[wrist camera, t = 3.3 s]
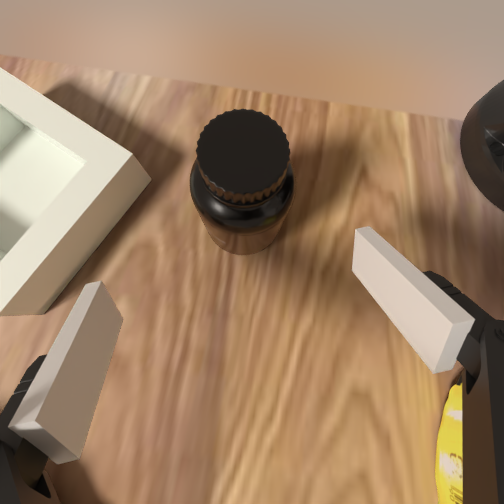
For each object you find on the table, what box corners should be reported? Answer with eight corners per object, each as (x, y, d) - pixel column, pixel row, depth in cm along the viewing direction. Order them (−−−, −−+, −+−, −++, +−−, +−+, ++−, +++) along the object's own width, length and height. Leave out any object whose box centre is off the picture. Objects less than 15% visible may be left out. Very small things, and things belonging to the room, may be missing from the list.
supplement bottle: (198, 247, 25) (154, 194, 13) (217, 179, 26) (193, 76, 14) (272, 265, 25) (294, 228, 13) (287, 195, 26) (321, 104, 14)
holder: (152, 179, 26) (132, 153, 22) (43, 314, 23) (-4, 316, 19) (32, 100, 27) (-10, 61, 23) (-83, 220, 25) (-154, 201, 20)
